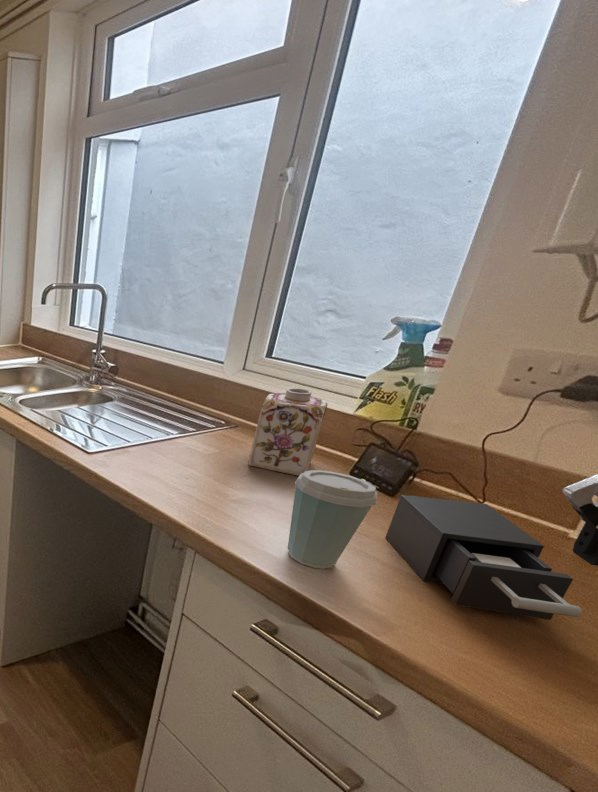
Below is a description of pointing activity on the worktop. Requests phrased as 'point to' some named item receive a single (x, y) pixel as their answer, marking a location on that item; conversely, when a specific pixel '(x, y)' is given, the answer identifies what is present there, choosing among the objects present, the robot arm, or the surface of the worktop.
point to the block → (494, 560)
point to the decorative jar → (287, 431)
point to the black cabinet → (448, 530)
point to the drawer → (503, 581)
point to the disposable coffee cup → (326, 515)
